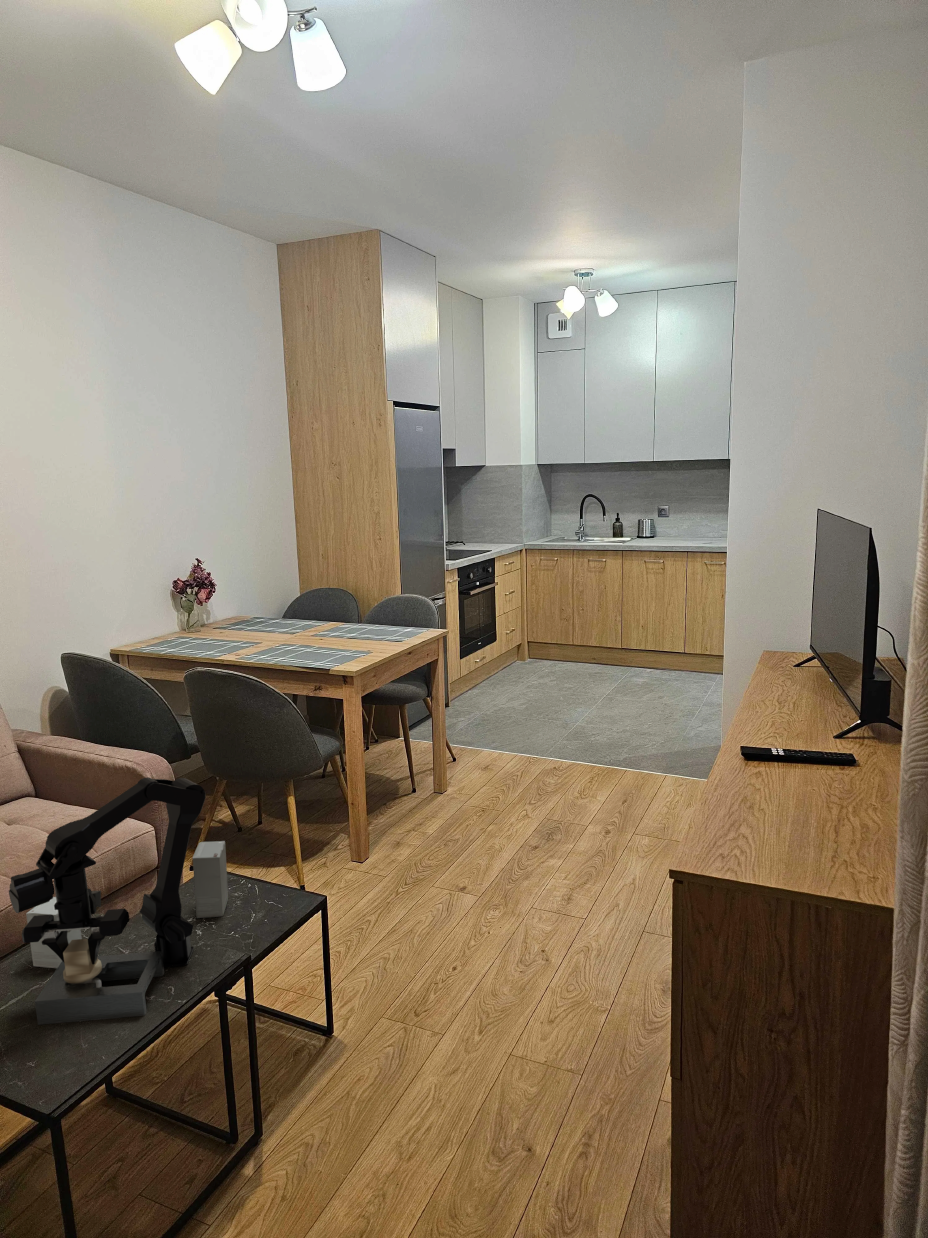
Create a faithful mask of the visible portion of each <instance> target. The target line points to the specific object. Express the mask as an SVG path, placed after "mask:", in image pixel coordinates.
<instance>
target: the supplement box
mask: <svg viewBox="0 0 928 1238" xmlns="http://www.w3.org/2000/svg"><path fill="white" fill-rule="evenodd" d="M56 902H57V901H56V896H53V899H51V900H50V901H49V902H47V903H44V904H41V905H39V906H36V907H33V908H31V909H29V911H28V912H26V913H25V916H26V924H28V923H29V921H30V920H31V919H32V918H33V917H34V916H38V915H50V914H52V915H53V916H54V920H55V921H59V915H58V910H55V908H54V905H55V903H56ZM67 939H68V944H69V943H70V942H71V940H77V939H83V938H82V929H80V930H68V931H67ZM42 941H43V937H42V938H41V939H40V940H39V942H31V943H30V944H29V945H30V949H31V950H30V952H31V958H32V964H33V965H32V966H33V967H38V968H39V967H40V968H48V969H49V968H50V969H57V968H58V966H59V965H60V963H61V962H62V960H61V959H60V958H59V956H58V955H57V954H56V953H55V952H54V951H53V950H52V949H50V948H49V947H48V946H47V945H42Z"/></svg>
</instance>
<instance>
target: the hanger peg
mask: <svg viewBox="0 0 928 1238" xmlns="http://www.w3.org/2000/svg"><path fill="white" fill-rule="evenodd" d="M63 956H64V963H65V969H64V971H63V977H64V980H65V981H66V982H68V983H74V984H86V983H96V988H99V987H103V986H102V981H101V980H100V979H99V978H96V976H97V975H98V974H99V973H100V972H101V970H102V964H101V961H100V960H99V959H98V957H97V960H96V963H95V964H92V962H91V958H90V952H89V946H88V938H82V939H77V940H71V942H70V943H69V945H68V946H67V948H66V949H65V951H64V952H63ZM74 984H71V985H74Z"/></svg>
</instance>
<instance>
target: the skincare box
mask: <svg viewBox="0 0 928 1238" xmlns="http://www.w3.org/2000/svg"><path fill="white" fill-rule="evenodd" d="M226 849H227V848H226V841H225V840H221V841H201V842H198V845H197V847H196V848H195V851H194V854H193V855H192V868H193V869H192V870H193V884H194V886H193V887H194V896H195V897H194V898H195V899H194V900H195V902H194V903H195V915H196V919H200V918H201V919H203V918H204V919H205V918H215V917H216V918H217V917H224V914H225V911H226V907H227V903H228V900H229V890H228V870H227V869H228V867H227V854H226V853H227V851H226Z"/></svg>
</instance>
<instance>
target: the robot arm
mask: <svg viewBox="0 0 928 1238" xmlns="http://www.w3.org/2000/svg"><path fill="white" fill-rule="evenodd" d="M206 796H207V795H206V791H205V789H204V787H202V786H201V785H199V784H198V783H195V782H193V781H192V780H190V779H188V778H184V777H180V778H176V779H175V780H171V779H165V778H151V777H143V778H141V779H139V780H138V781H137V783H136V784H134V785H133V786H131V787H130V788H128V789H127V790H125V791H123V793H121V794H120V795H118V796H116V797H115V798H113V799H112V800H110V801H109V802H108V803H106V804H105V805H103V806H102V807H99V808H98V809H97V810H95V811H94V812H92V813H91V814H89V815H88V816H85V817H84V818H82V819H77V820H74V821H70V822H67V823H66V824H64V825H61V826H59V827H57V828H55V829H53V830H52V831H51V832H50V833H49V834H48V835H47V836H46V840H45V847H44V848H43V851H42V852H41V854H40V856H39V858H38V859H37V861H36V863H35V866H36V867H37V868H36V869H33V870H30V871H28V872H25V873H20V874H19V873H18V874H15V875H13V876H11V877H10V884H9V889H8V896H9V899H10V904H11V906H12V908H13V910H14V912H15V913H16V914H19V913H22V912H24V911H27V910H31V909H33V908H34V907H36V906H39V905H41V904H44V903H47V902H49V901H50V900H51V899H53V897H54V895H55V897H56V901H57V902H56V903H55V905H54V908H55V910H58V915H59V921H55V920H54V916H53V915H52V914H50V915H38V916H34V917H33V918H32V919H31V920H30V921H29V923H26V925H25V926H24V927H23V929H22V931H21V938H22V942H23V943H24V944H28V943H31V942H39V940H40V939H41V938H42V937H43V941H42V945H47V946H48V947H49V948H50V949H52V950H53V951H54V952H55V953H56V954H57V955H58V956H59V958H60V959H61V960H62V961H63V962H64V956H63V952H64V951H65V949H66V948H67V946H68V945H69V944H68V939H67V931H68V930H80V929H81V930H88V929H89V930H91V934H90V935H88V938H87V939H88V946H89V952H90V958H91V962H92V964H95V963H96V960H97V956H99V951H100V947H101V942H102V941H103V940H104V939H105V938H106V937H114V936H119V935H121V934H122V933H123V932H124V930H125V929H126V927H127V925H128V924H129V922H130V912H129V911H128V910H127V909H126V908H115V909H113V908H112V909H107V910H106V912H105V913H104V914H103V915H99V916H98V915H97V917H93V916H92V915H95V914H96V912H98V911H97V908H101V906H102V891H101V890H92V889H91V888H89V886H88V879H87V874H86V873H87V872H86V869H87V868H89V867H92V866H95V865H96V864H97V861H96V860H95V859H93V858H92V857H91V856H89V855H87V854H88V853H89V852H90V851H91V850H93V848H94V846H95V845H96V844H97V843H98V841H99V839H100V838H102V836H104V835H105V834H106V833H108V832H110V831H111V830H112V829H113V828H115V827H116V826H118V825H119V824H121V823H122V822H124V821H125V820H127V819H128V818H129V817H131V816H132V815H134V814H135V813H136V812H139V811H140V810H141V809H142V808H144V807H145V806H147V805H148V804H150V803H151V802H153V801H154V802H162V803H165V806H166V811H167V816H168V824H167V825H168V826H167V829H166V835H165V839H164V846H163V849H162V854H161V860H160V863H159V864H160V865H159V868H158V870H159V871H158V875H157V878H156V879H157V880H156V884H155V887H154V888H153V890H152V891H151V893H150V894H149V893H144V894H143V896H142V905H141V908H140V909H139V913H140V914H141V920H142V922H144V924H145V925H146V926H147V927H148V928H149V929H150V930H152V931H153V932H155V934H156V936H155V941H154V943H153V945H154V946H153V947H154V952H155V951H162V955H163V964H164V968H168V967H170V968H171V967H180V966H181V967H182V966H187V965H188V964H189V961H190V959H191V957H192V955H193V952H194V950H195V949H194V946H192V945H191V936H192V934H193V930H194V924H192V923H191V922H189V921H188V920H187V919H186V918H185V917H183V916H182V911H183V910H182V909H183V908H182V901H181V897H180V885H181V880H182V876H183V869H184V866H185V861H186V855H187V851H188V846H189V841H190V837H191V831H192V826H193V824H194V823H195V821H196V820H197V818H198V817H199V816H200V814H201V812H202V810H203V807H204V804H205V802H206V799H207V798H206ZM54 859H55V860H56V861H55V862H53V860H54Z"/></svg>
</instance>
